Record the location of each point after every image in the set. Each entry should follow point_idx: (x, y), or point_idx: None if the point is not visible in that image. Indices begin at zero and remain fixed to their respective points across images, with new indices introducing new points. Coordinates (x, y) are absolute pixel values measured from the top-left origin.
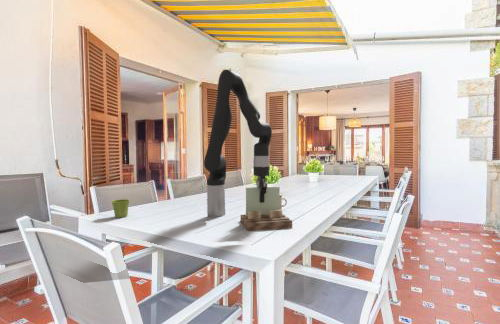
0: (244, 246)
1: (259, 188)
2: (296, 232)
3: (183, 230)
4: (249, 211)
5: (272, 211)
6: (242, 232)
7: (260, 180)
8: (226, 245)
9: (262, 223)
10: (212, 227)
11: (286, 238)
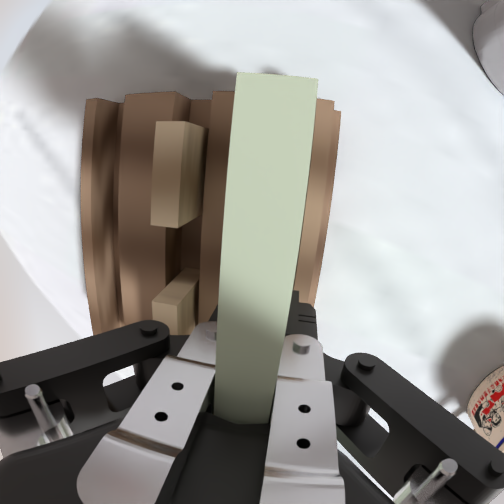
0: (16, 89)
1: (160, 371)
2: None
3: None
4: (182, 134)
5: (153, 313)
6: (149, 87)
7: (51, 494)
8: (41, 32)
9: (84, 191)
10: None
11: (43, 254)
